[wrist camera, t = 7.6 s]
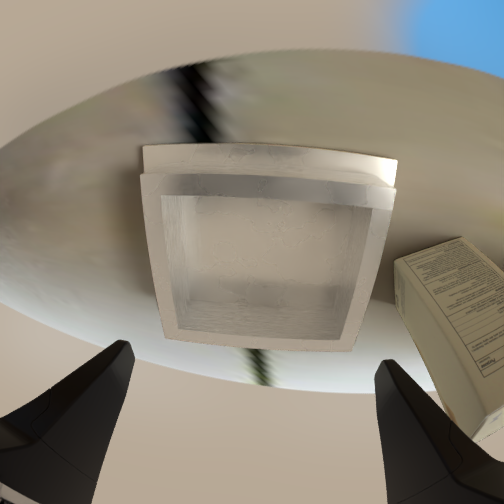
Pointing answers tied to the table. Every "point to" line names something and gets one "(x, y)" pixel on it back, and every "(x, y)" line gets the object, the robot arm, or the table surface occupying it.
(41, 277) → the table surface
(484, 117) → the table surface
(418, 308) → the skincare box
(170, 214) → the square open tray
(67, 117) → the table surface
